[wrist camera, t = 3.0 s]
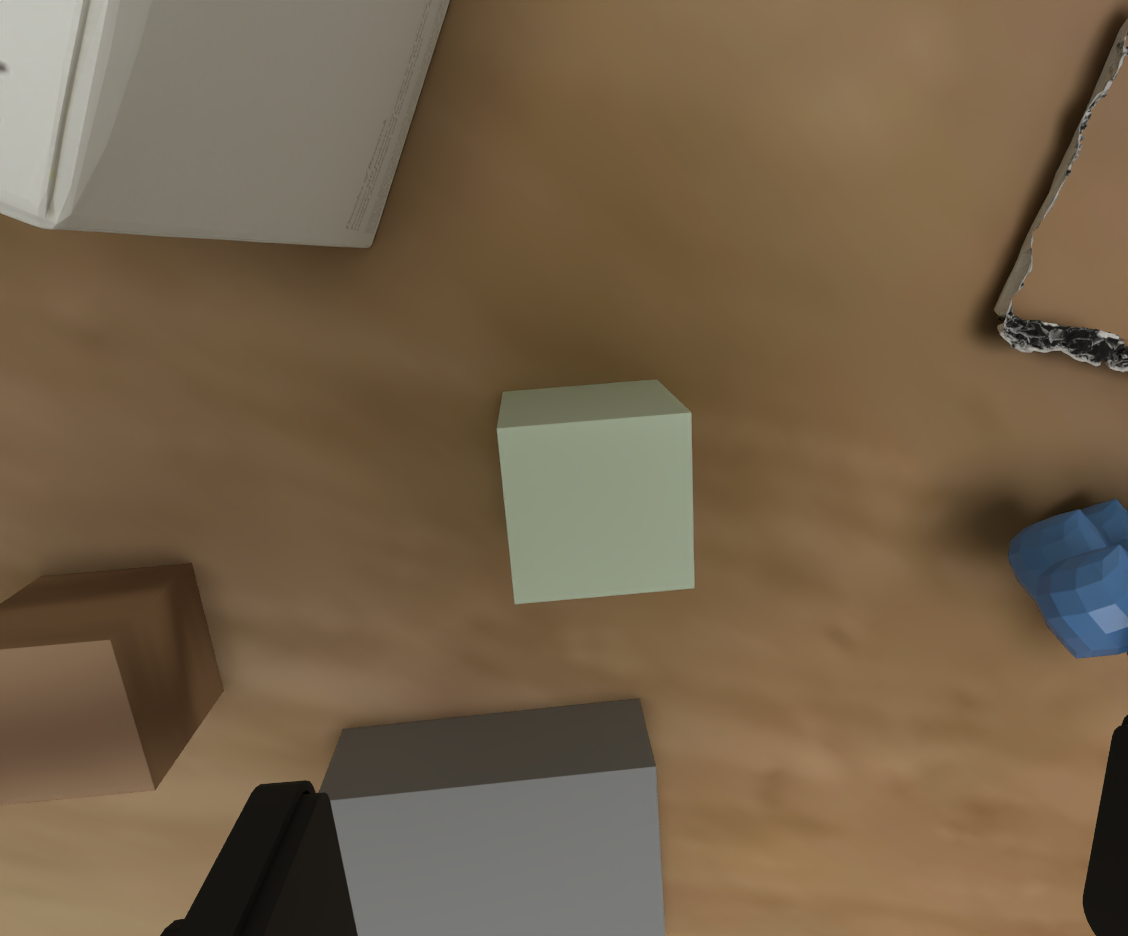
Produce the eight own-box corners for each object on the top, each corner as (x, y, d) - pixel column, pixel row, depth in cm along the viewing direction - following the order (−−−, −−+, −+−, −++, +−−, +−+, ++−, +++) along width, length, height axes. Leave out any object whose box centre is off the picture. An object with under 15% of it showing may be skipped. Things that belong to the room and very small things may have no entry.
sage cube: (502, 391, 23) (496, 428, 18) (656, 378, 23) (691, 412, 18) (517, 534, 24) (515, 604, 20) (661, 522, 24) (694, 588, 20)
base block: (345, 722, 26) (315, 802, 23) (637, 692, 27) (655, 766, 23) (391, 943, 30) (371, 1045, 26) (651, 914, 30) (669, 1011, 26)
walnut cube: (42, 575, 24) (-78, 656, 19) (192, 562, 24) (110, 639, 19) (83, 702, 25) (-20, 806, 21) (224, 689, 25) (154, 790, 21)
